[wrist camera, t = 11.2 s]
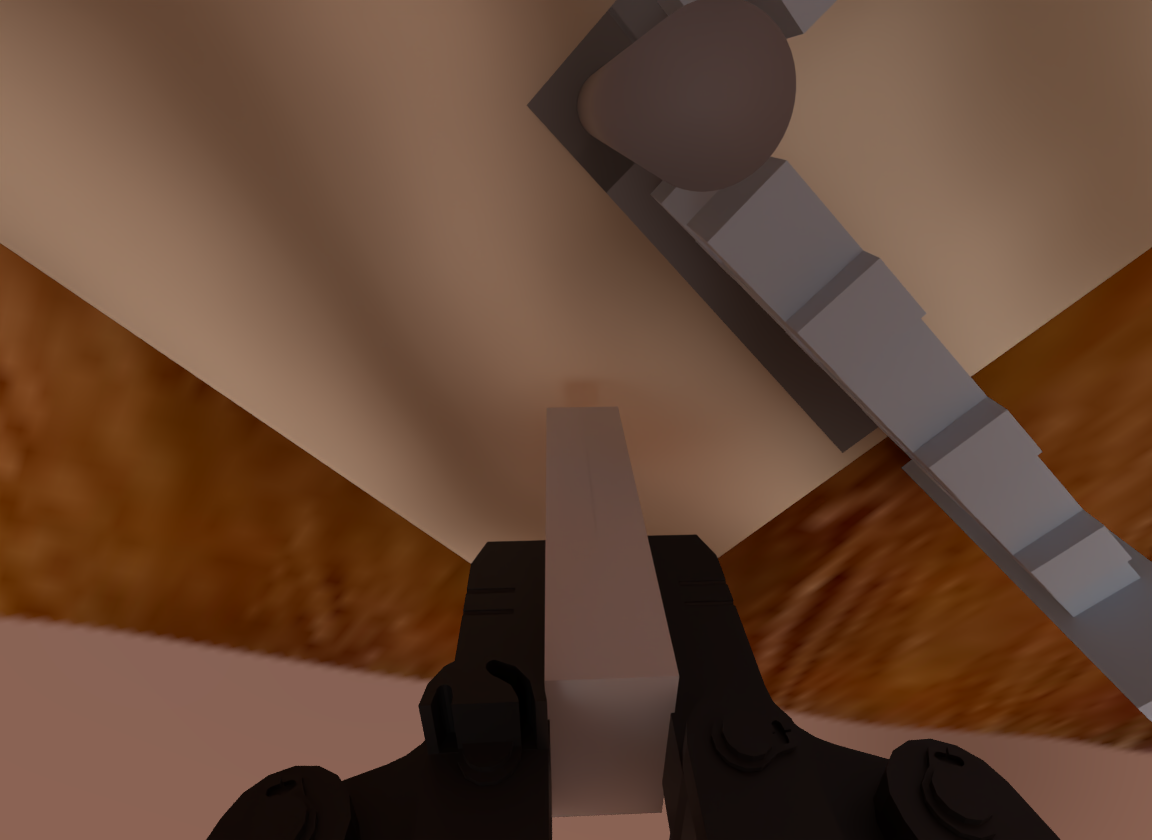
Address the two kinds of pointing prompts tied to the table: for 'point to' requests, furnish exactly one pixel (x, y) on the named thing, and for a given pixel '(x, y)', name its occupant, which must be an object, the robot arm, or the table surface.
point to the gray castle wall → (928, 410)
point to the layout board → (548, 225)
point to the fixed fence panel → (702, 90)
